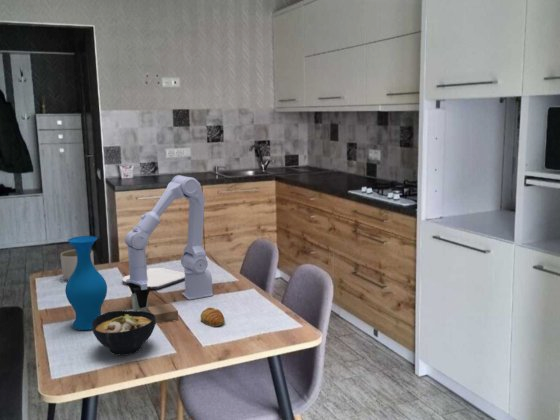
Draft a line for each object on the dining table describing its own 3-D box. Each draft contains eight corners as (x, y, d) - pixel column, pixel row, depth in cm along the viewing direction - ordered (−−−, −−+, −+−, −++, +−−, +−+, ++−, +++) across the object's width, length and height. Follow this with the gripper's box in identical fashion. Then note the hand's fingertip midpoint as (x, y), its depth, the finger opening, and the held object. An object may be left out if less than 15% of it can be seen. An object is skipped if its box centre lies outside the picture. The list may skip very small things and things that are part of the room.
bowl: (120, 333, 165) (118, 302, 163) (168, 342, 159) (167, 309, 157) (80, 356, 150) (77, 322, 148) (131, 367, 143) (129, 331, 141)
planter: (72, 273, 228) (70, 248, 226) (100, 274, 226) (98, 249, 224) (56, 282, 216) (54, 256, 214) (85, 283, 214) (83, 257, 212)
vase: (89, 315, 180) (83, 233, 175) (117, 322, 174) (112, 237, 170) (59, 328, 170) (52, 241, 165) (88, 335, 164) (82, 245, 159)
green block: (145, 305, 190) (144, 291, 189) (148, 309, 186) (147, 295, 185) (132, 307, 187) (131, 293, 187) (135, 311, 184) (134, 297, 183)
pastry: (230, 325, 171) (229, 313, 171) (210, 330, 168) (210, 318, 167) (217, 316, 179) (216, 304, 178) (198, 320, 176) (197, 309, 175)
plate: (157, 271, 231) (156, 266, 231) (191, 279, 219) (191, 274, 219) (117, 283, 215) (116, 278, 214) (152, 293, 203) (152, 287, 202)
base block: (171, 313, 182) (171, 303, 182) (178, 321, 175) (177, 310, 175) (147, 317, 179) (147, 307, 178) (153, 325, 172) (153, 315, 171)
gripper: (121, 262, 188) (123, 299, 191) (131, 272, 176) (133, 312, 178) (141, 259, 192) (143, 296, 194) (152, 269, 179) (154, 309, 181)
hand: (140, 304), depth 186 cm, fingers open, 6 cm apart
